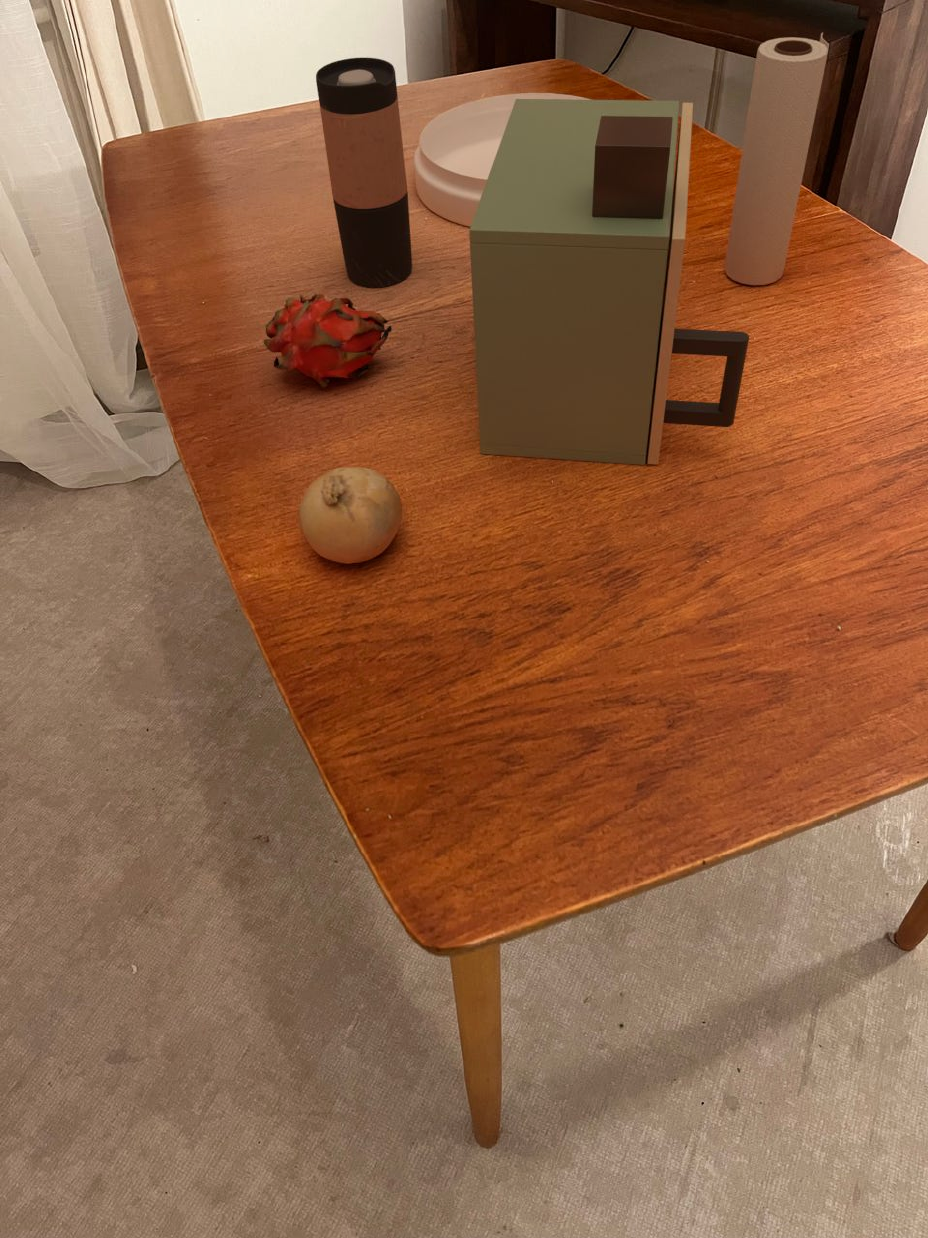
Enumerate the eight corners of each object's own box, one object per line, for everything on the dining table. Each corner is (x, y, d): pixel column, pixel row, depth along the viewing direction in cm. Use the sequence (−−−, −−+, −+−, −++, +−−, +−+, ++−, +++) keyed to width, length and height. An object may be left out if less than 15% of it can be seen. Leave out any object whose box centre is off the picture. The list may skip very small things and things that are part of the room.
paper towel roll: (736, 291, 100) (774, 61, 84) (715, 262, 104) (747, 38, 88) (803, 280, 100) (854, 51, 85) (779, 252, 104) (823, 29, 89)
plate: (612, 244, 108) (615, 194, 104) (383, 220, 114) (378, 173, 110) (657, 143, 125) (661, 97, 121) (456, 127, 131) (453, 83, 127)
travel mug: (337, 261, 108) (307, 64, 93) (404, 248, 109) (384, 51, 95) (353, 294, 103) (323, 91, 88) (423, 280, 104) (405, 77, 90)
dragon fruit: (265, 391, 95) (388, 388, 97) (265, 386, 87) (400, 383, 89) (259, 299, 93) (384, 298, 96) (259, 286, 85) (396, 285, 87)
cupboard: (657, 313, 98) (679, 100, 83) (644, 465, 82) (669, 236, 67) (518, 306, 100) (515, 98, 85) (480, 454, 84) (468, 229, 69)
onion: (300, 518, 80) (284, 449, 75) (396, 500, 81) (386, 430, 75) (312, 586, 74) (295, 517, 69) (414, 566, 75) (406, 496, 70)
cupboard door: (728, 314, 97) (762, 103, 82) (728, 469, 81) (771, 241, 66) (660, 311, 98) (682, 102, 83) (647, 464, 82) (672, 238, 67)
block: (665, 187, 72) (672, 116, 68) (663, 219, 69) (670, 146, 65) (597, 185, 73) (601, 115, 69) (591, 217, 70) (595, 144, 66)
